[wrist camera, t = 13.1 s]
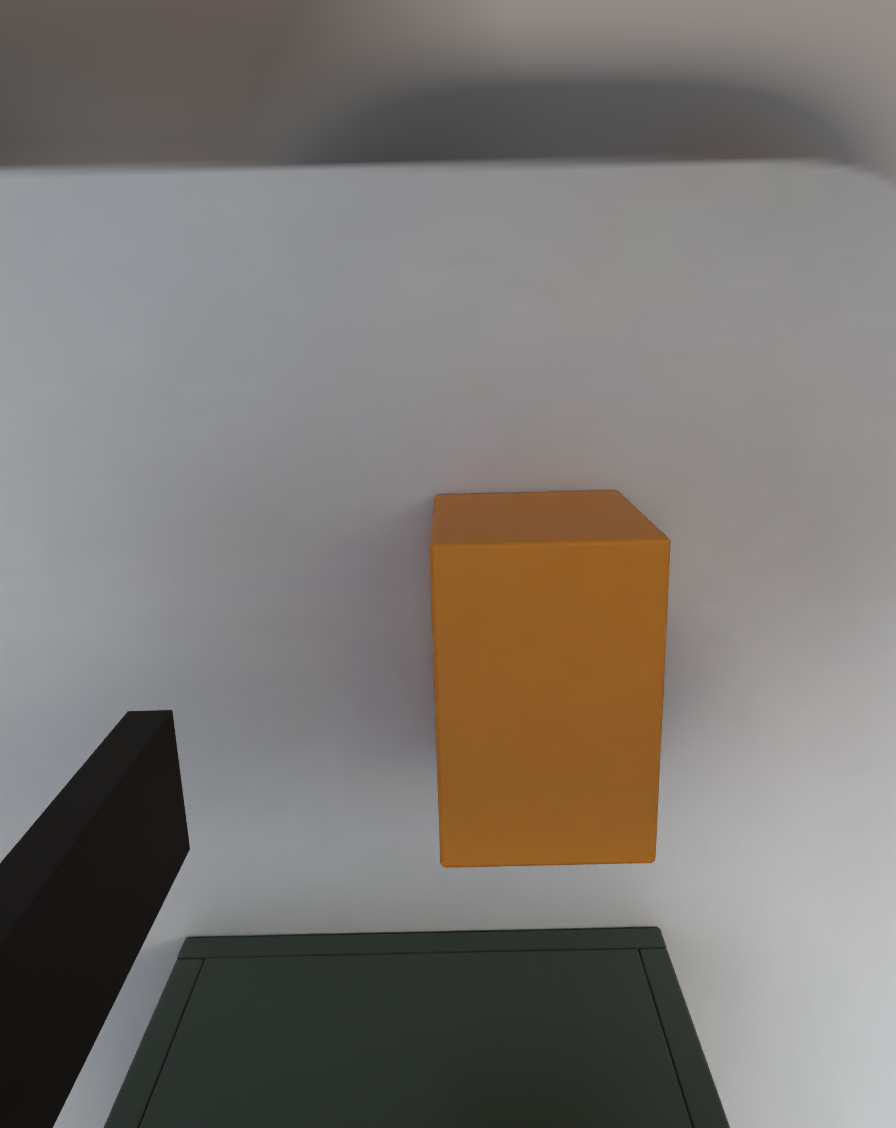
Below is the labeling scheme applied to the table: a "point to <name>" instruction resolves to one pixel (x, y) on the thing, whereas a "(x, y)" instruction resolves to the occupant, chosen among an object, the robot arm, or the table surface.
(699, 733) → the table surface
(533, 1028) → the open storage cube
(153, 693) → the table surface
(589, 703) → the block
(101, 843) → the robot arm
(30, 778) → the table surface
